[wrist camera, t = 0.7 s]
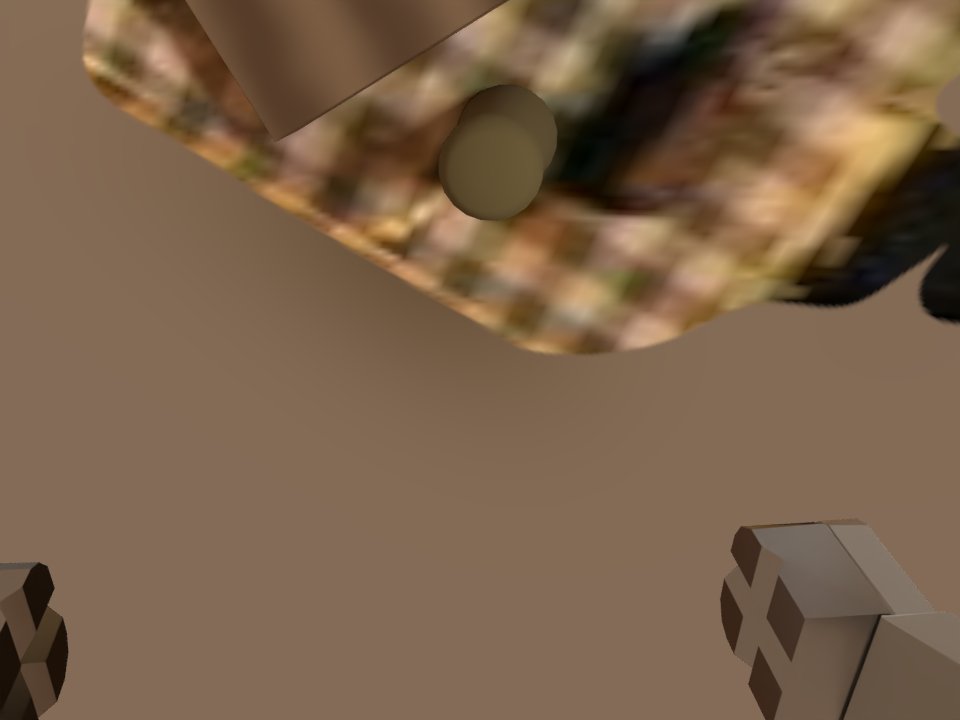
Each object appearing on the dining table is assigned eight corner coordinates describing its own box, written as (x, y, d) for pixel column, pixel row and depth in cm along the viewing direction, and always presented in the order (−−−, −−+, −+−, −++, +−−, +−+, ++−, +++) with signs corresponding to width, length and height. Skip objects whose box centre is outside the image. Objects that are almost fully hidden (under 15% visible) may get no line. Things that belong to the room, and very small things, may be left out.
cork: (438, 158, 52) (404, 199, 42) (484, 65, 49) (459, 85, 39) (526, 206, 52) (513, 258, 42) (576, 116, 50) (574, 148, 40)
